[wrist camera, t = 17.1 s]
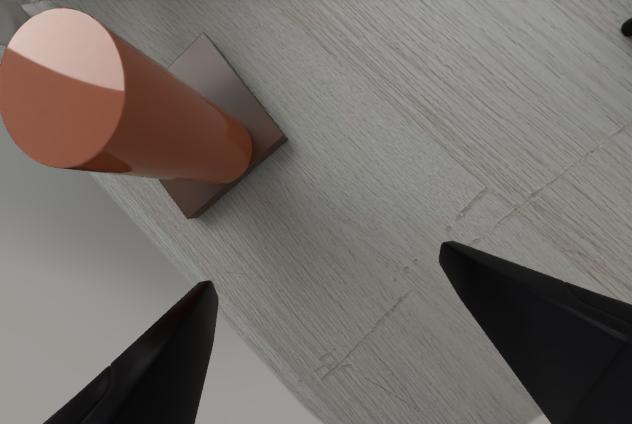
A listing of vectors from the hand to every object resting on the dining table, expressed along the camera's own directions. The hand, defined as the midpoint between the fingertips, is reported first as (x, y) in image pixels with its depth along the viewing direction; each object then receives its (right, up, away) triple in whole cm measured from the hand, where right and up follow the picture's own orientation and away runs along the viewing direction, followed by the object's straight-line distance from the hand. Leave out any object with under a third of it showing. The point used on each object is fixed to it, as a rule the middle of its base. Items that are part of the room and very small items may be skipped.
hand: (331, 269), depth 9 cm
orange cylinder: (-8, +7, +9) cm, 14 cm away
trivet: (-10, +9, +10) cm, 17 cm away
